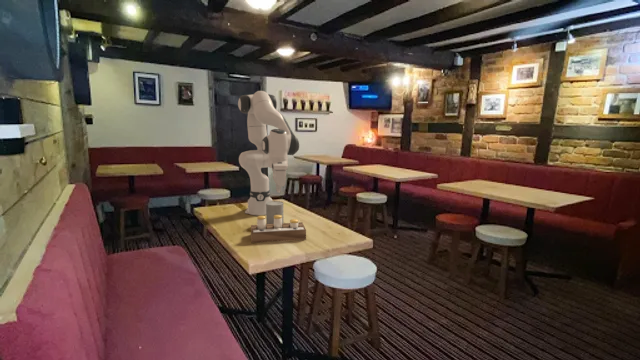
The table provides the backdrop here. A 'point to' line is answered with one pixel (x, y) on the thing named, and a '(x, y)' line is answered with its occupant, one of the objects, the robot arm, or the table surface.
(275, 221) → the middle button
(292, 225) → the button
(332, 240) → the table surface
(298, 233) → the button board
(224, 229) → the table surface
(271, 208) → the grey concrete cylinder
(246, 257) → the table surface
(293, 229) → the strip
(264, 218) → the button
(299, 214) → the table surface
